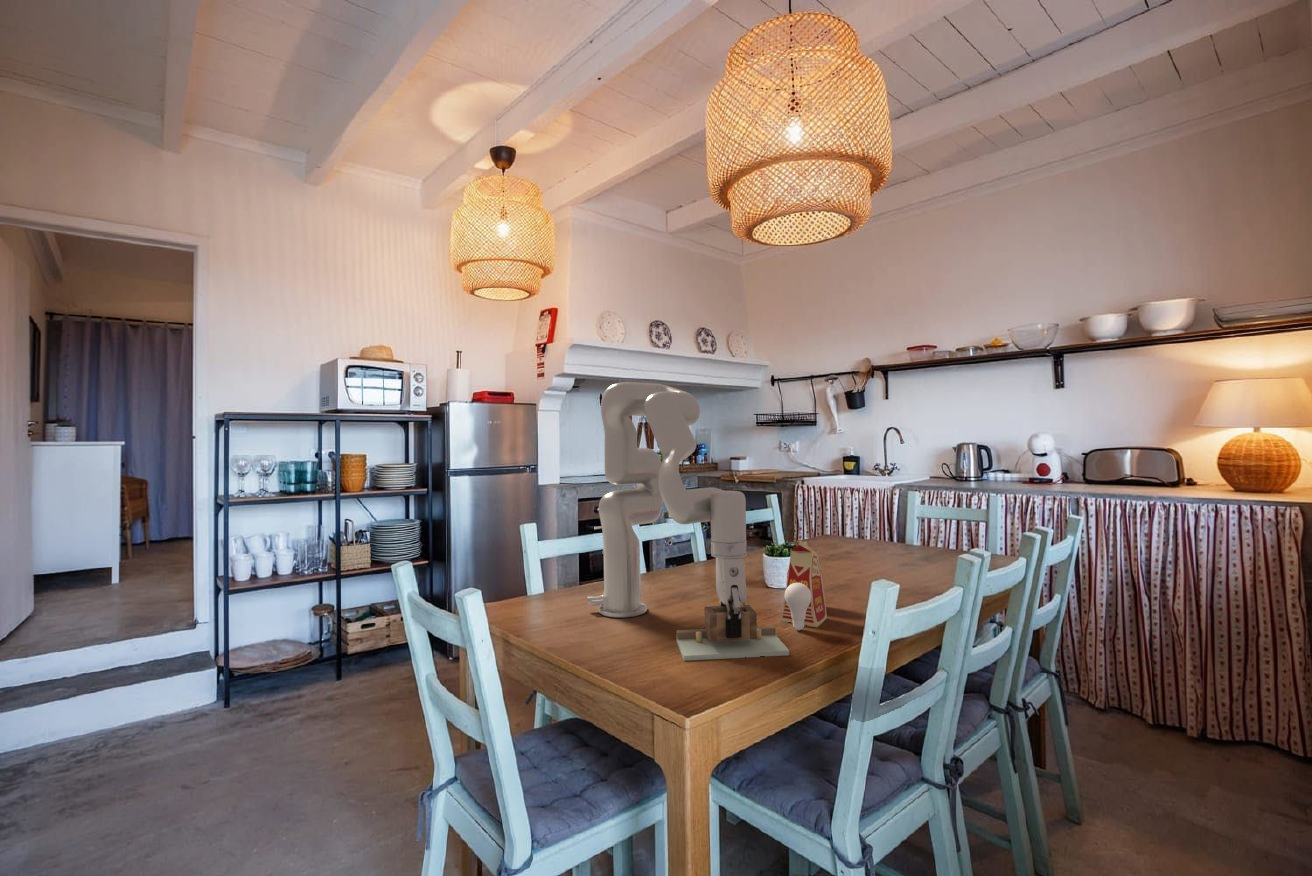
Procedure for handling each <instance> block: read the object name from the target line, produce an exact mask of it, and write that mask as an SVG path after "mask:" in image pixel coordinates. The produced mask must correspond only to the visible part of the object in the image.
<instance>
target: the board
mask: <svg viewBox="0 0 1312 876" xmlns="http://www.w3.org/2000/svg"><path fill="white" fill-rule="evenodd" d="M675 633H676V638H675V639H676V643H677V644H676V645H677V646H678V649H679V651H680V655H681V657H682V660H683V662H686V661H701V660H702V661H704V660H721V659H722V660H725V659H727V660H728V659H741V658H744V659H745V657H746V658H760V656H765V657H779V656H781V657H783V656H790V650H789V648H787V646H786V645H785V644H784V643H783V641H781V639H780V638H779V637H778V636H777V635H776V634H777V633H776V627H775V626H774V625H762V626H761V625H760V626H759V625H757V639H751V640H730V641H709V639H708V637H707V635H706V633H705V628H698V629H696V628H695V629H692V628H691V629H677V630H676V632H675Z"/></svg>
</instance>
